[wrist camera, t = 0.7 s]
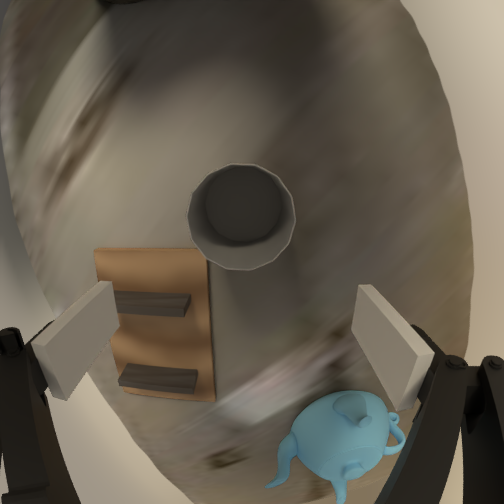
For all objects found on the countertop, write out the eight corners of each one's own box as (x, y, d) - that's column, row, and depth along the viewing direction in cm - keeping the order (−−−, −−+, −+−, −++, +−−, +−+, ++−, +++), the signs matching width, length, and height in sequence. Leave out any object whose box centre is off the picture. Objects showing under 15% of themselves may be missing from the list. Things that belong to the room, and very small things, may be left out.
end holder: (98, 248, 33) (77, 260, 28) (207, 248, 33) (200, 262, 28) (126, 387, 39) (115, 409, 34) (215, 396, 39) (212, 421, 34)
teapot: (258, 430, 41) (260, 491, 29) (342, 357, 37) (370, 419, 26) (328, 457, 44) (340, 507, 32) (405, 397, 40) (434, 446, 28)
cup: (264, 154, 30) (271, 145, 21) (293, 223, 32) (311, 245, 23) (192, 185, 31) (168, 191, 22) (223, 252, 33) (213, 285, 24)
